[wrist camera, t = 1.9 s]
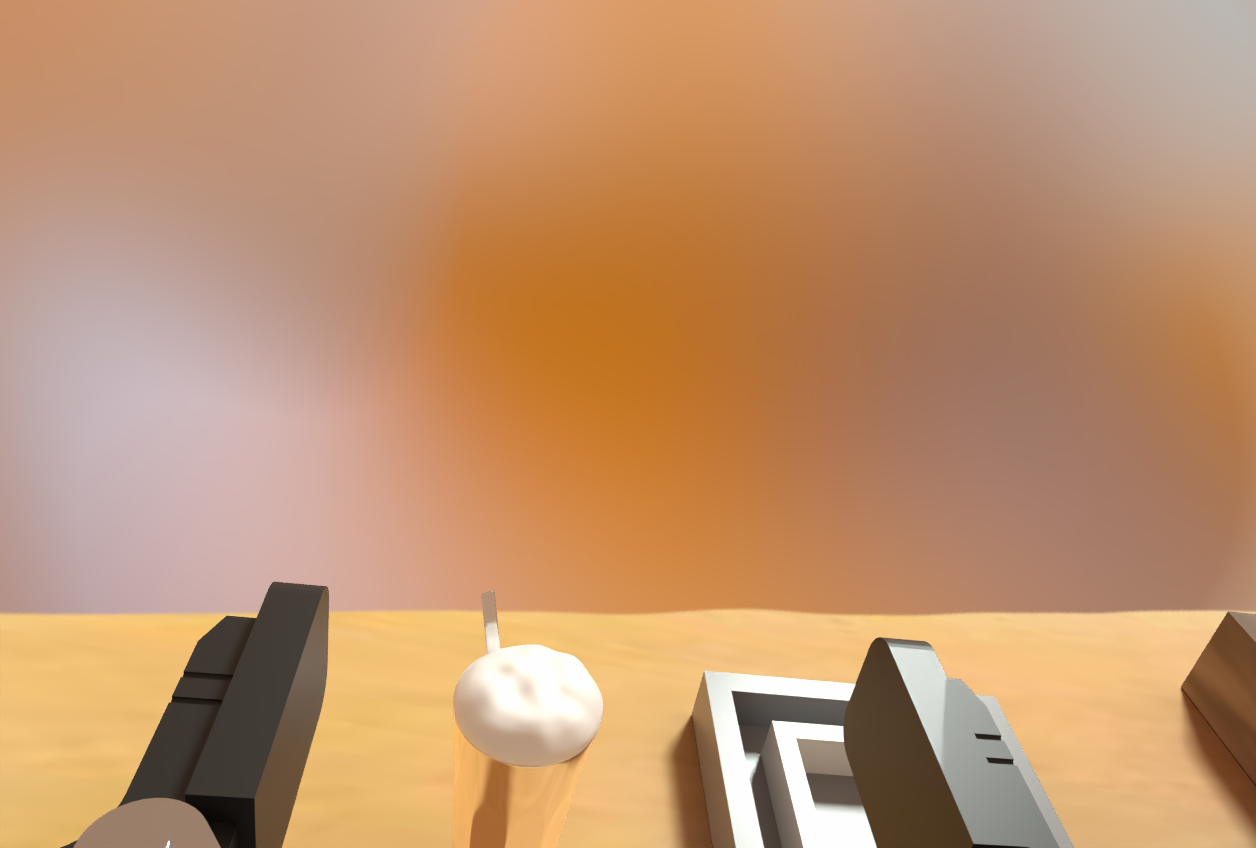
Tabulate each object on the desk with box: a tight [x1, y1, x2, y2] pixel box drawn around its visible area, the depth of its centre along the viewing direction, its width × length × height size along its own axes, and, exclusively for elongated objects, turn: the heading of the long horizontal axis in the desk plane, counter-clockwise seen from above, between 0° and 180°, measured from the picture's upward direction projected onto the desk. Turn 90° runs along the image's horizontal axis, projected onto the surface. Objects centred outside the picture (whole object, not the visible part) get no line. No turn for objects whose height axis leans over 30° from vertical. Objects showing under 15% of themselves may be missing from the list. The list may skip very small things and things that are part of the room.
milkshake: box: [453, 591, 603, 848], centre depth 31 cm, size 4×5×10 cm
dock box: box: [692, 671, 1074, 848], centre depth 36 cm, size 13×13×2 cm
